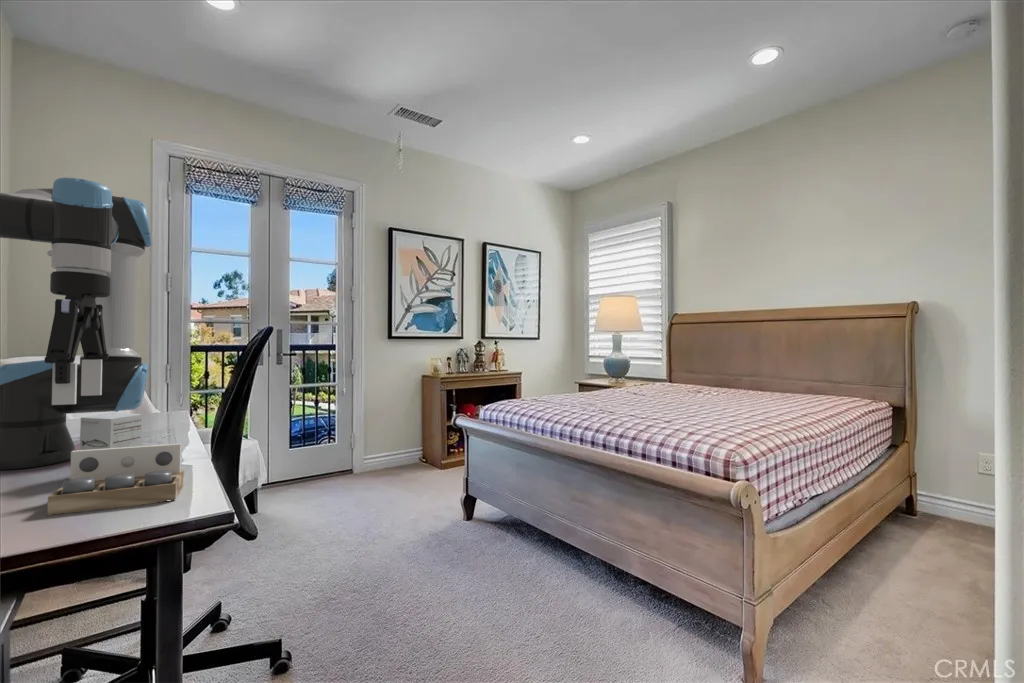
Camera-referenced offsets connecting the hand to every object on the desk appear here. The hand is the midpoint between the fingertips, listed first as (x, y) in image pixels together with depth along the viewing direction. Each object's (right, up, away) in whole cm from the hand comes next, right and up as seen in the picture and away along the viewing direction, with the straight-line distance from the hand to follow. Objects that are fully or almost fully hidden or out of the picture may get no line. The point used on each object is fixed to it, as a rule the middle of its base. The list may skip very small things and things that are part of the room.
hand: (78, 399), depth 80 cm
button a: (0, -15, 0) cm, 15 cm away
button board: (+4, -18, +5) cm, 19 cm away
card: (+2, -15, +8) cm, 17 cm away
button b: (+5, -16, +3) cm, 17 cm away
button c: (+10, -16, +5) cm, 19 cm away
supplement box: (-10, -18, +19) cm, 28 cm away
